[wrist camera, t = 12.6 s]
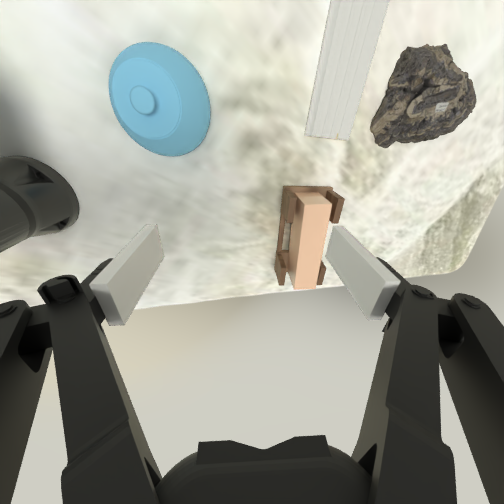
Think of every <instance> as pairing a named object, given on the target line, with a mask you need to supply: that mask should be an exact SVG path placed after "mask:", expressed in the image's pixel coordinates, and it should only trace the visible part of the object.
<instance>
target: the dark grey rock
mask: <svg viewBox="0 0 504 504" xmlns="http://www.w3.org/2000/svg"><path fill="white" fill-rule="evenodd" d="M475 104H476V95H475V91H474V88H473V82H472V80H471V79H468V73H467V72H463V71H461V69H460V68H458V67H457V66H456V65H455V63H454V62H453V58H452V56H451V54H450V51H449V50H448V47H447V44H444V45H442V46H436V47H434V46H429V45H428V44H426V45H424V46H422V47H419V48H413V47H407V49H406V50H404V51H403V52H402V53H401V55H400V59H398V61H397V63H396V66H395V69H394V72H393V74H392V75H391V78H390V80H389V88H388V90H387V92H386V96H385V98H384V100H383V102H382V105H381V107H380V108H379V110H378V112H377V114H376V115H375V117H374V118H373V119H372V123H371V132H372V133H373V134H374V135H375V143H377V144H378V146H381V147H383V148H388V147H389V146H390V145H391V144H392V143H394V142H395V141H398V142H400V143H410V142H414V143H417V142H421V141H427V140H431V139H435V138H438V137H439V136H440V135H445V134H447V133H450V132H453V131H454V130H455V128H456V127H457V126H458V125H459V124H461V123H462V122H463V121H464V120H465V119H466V118H467V117H468V115H469V114H470V113H472V110H473V109H474V107H475Z"/></svg>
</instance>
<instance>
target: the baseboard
mask: <svg viewBox="0 0 504 504" xmlns="http://www.w3.org/2000/svg"><path fill="white" fill-rule="evenodd" d="M389 1H390V0H331V2H330V7H329V12H328V17H327V22H326V27H325V32H324V37H323V42H322V47H321V53H320V58H319V63H318V68H317V73H316V78H315V83H314V88H313V93H312V98H311V103H310V108H309V114H308V119H307V124H306V129H305V134H304V135H305V136H314V137H323V138H332V139H341V140H349V137H350V133H351V130H352V126H353V123H354V120H355V116H356V113H357V109H358V106H359V103H360V99H361V96H362V93H363V89H364V86H365V82H366V79H367V76H368V72H369V69H370V66H371V62H372V59H373V55H374V52H375V49H376V45H377V42H378V38H379V35H380V32H381V28H382V25H383V22H384V18H385V15H386V11H387V8H388V5H389Z"/></svg>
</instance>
